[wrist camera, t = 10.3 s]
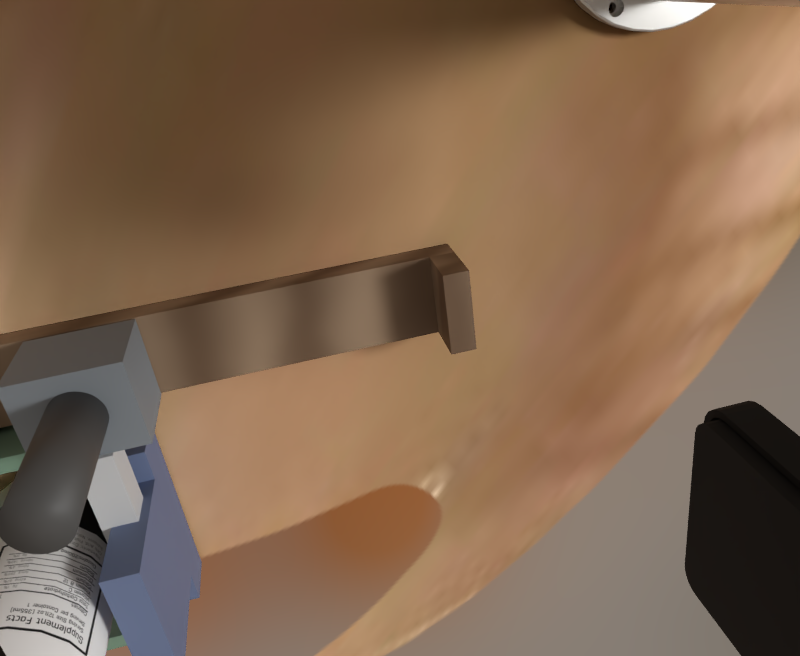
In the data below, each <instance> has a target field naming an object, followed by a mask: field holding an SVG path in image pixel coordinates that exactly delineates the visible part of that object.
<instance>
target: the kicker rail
mask: <svg viewBox="0 0 800 656" xmlns="http://www.w3.org/2000/svg"><path fill="white" fill-rule="evenodd" d="M132 319H136V322H137V325H138V328H139V331H140V334H141V337H142V340H143V343H144V345H145V348H146V351H147V354H148V357H149V360H150V363H151V366H152V369H153V371H154V374H155V377H156V380H157V383H158V386H159V389H160V392H161V393H162V392H166V391H171V390H175V389H180V388H185V387H189V386H194V385H198V384H203V383H207V382H212V381H216V380H221V379H226V378H230V377H235V376H239V375H244V374H248V373H253V372H258V371H262V370H267V369H271V368H276V367H280V366H285V365H290V364H294V363H299V362H303V361H308V360H312V359H317V358H322V357H326V356H331V355H335V354H340V353H344V352H349V351H353V350H358V349H363V348H367V347H372V346H376V345H381V344H385V343H390V342H395V341H399V340H404V339H408V338H413V337H417V336H422V335H427V334H431V333H436V332H439V334H440V335H441V337H442V339H443V340H444V342H445V344H446V346H447V347H448V349H449V351H450V352H451V354H456V353H460V352H465V351H469V350H474V349H476V340H475V329H474V318H473V308H472V297H471V286H470V276H469V270H468V269H467V267H466V266H465V265H464V264H463V262H462V261H461V260H460V259H459V258H458V256H457V255H456V254H455V253H454V251H453V250H452V249H451V248H450V246H449V245H448V244H444V245H439V246H434V247H429V248H424V249H419V250H414V251H409V252H405V253H400V254H395V255H390V256H385V257H380V258H375V259H370V260H365V261H360V262H355V263H350V264H345V265H341V266H336V267H331V268H326V269H321V270H316V271H311V272H306V273H301V274H296V275H291V276H286V277H282V278H277V279H272V280H267V281H262V282H257V283H252V284H247V285H242V286H237V287H232V288H227V289H222V290H218V291H213V292H208V293H203V294H198V295H193V296H188V297H183V298H178V299H173V300H168V301H163V302H158V303H154V304H149V305H144V306H139V307H134V308H129V309H124V310H119V311H114V312H109V313H104V314H99V315H95V316H90V317H85V318H80V319H75V320H70V321H65V322H60V323H55V324H50V325H45V326H40V327H35V328H31V329H26V330H21V331H16V332H11V333H6V334H1V335H0V380H1V378H2V376H3V375H4V373H5V371H6V370H7V368H8V366H9V365H10V363H11V361H12V360H13V358H14V356H15V354H16V353H17V351H18V349H19V348H20V346H21V344H22V343H23V342H25V341H30V340H35V339H40V338H45V337H50V336H54V335H59V334H64V333H69V332H74V331H79V330H84V329H89V328H93V327H98V326H103V325H108V324H113V323H118V322H123V321H128V320H132ZM11 425H12V423H11V421H10V419H9V417H8V415H7V413H6V411H5V408H4V406H3V404H2V402H1V400H0V428H2V427H6V426H11Z"/></svg>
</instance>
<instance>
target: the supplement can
mask: <svg viewBox="0 0 800 656" xmlns="http://www.w3.org/2000/svg"><path fill="white" fill-rule="evenodd" d="M12 483H13V482H11V483H10V484H9V485H8V486H7V487H5V488H4V489H3V490H2V491H1V492H0V510H1V507H2V505H3V503H4V501H5V498H6V496H7V494H8V492H9V490H10V487H11V485H12ZM106 547H107V541H106V539H105V537H104V534H103V532H102V530H101V528H100V525H99V523H98V521H97V519H96V516H95V514H94V512H93V509H92V507H91V505H90V503H89V500H88V498H87V500H86V503H85V507H84V510H83V513H82V517H81V520H80V524H79V527H78V531H77V534H76V536H75V538H74V539H73V540H72V542H71V543H69V544H68V545H67V546H66V547H64V548H62V549H61V550H58V551H56V552H52V553H48V554H29V553H24V552H20V551H18V550H15V549H14V548H12V547H10V546H9V545H7V544H6V543H5V542H4V541H3V540H2V539H1V537H0V646H1V648H2V649H3V651H4V653H5V654H6V656H106V651H107V646H108V641H109V636H110V631H111V626H112V620H113V614H112V612H111V609H110V607H109V605H108V603H107V601H106V599H105V596H104V594H103V592H102V590H101V588H100V586H99V584H98V582H99V578H100V574H101V569H102V565H103V560H104V556H105V552H106Z"/></svg>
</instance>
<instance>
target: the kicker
mask: <svg viewBox="0 0 800 656" xmlns="http://www.w3.org/2000/svg"><path fill="white" fill-rule="evenodd" d="M160 399H161V392H160V389H159V386H158V383H157V380H156V377H155V374H154V371H153V369H152V366H151V363H150V360H149V357H148V354H147V351H146V348H145V345H144V343H143V340H142V337H141V334H140V331H139V328H138V325H137V322H136V319H132V320H128V321H123V322H118V323H113V324H108V325H103V326H98V327H93V328H89V329H84V330H79V331H74V332H69V333H64V334H59V335H54V336H50V337H45V338H40V339H35V340H30V341H25V342H23V343H22V344H21V346H20V348H19V349H18V351H17V353H16V354H15V356H14V358H13V360H12V361H11V363H10V365H9V366H8V368H7V370H6V371H5V373H4V375H3V376H2V378H1V380H0V400H1V402H2V404H3V406H4V408H5V411H6V413H7V415H8V417H9V419H10V421H11V423H12V425H13V427H14V430H15V432H16V434H17V436H18V438H19V440H20V442H21V444H22V446H23V448H24V451H25V453H26V454H25V456H24V458H23V460H22V463H21V465H20V467H19V469H18V472H17V474H16V476H15V478H14V481H13V483H12V485H11V487H10V490H9V492H8V494H7V496H6V498H5V501H4V503H3V505H2V507H1V510H0V537H1V539H2V540H3V541H4V542H5V543H6V544H7V545H9V546H10V547H12V548H14V549H15V550H18V551H20V552H24V553H29V554H48V553H52V552H56V551H58V550H61V549H62V548H64V547H66V546H67V545H68V544H69V543H71V542H72V540H73V539H74V538H75V536H76V534H77V531H78V527H79V524H80V520H81V517H82V513H83V510H84V507H85V503H86V500H87V498H88V500H89V503H90V505H91V507H92V509H93V512H94V514H95V516H96V519H97V521H98V523H99V525H100V528H101V530H102V532H103V534H104V537H105V539H106V541H107V547H106V552H105V556H104V560H103V565H102V569H101V574H100V578H99V582H98V584H99V586H100V588H101V590H102V592H103V594H104V596H105V599H106V601H107V603H108V605H109V607H110V609H111V612H112V614H113V616H114V618H115V620H116V622H117V624H118V627H119V629H120V631H121V633H122V635H123V637H124V639H125V642H126V644H127V646H128V648H129V650H130V652H131V654H132V656H185V651H186V638H187V625H188V612H189V600H191V599H196V598H199V595H200V579H201V559H200V557H199V554H198V551H197V548H196V546H195V543H194V540H193V537H192V535H191V532H190V529H189V526H188V524H187V521H186V518H185V515H184V512H183V510H182V507H181V504H180V501H179V499H178V496H177V493H176V490H175V488H174V485H173V482H172V479H171V477H170V474H169V471H168V468H167V466H166V463H165V460H164V457H163V455H162V452H161V449H160V446H159V444H158V441H157V438H156V435H155V427H156V421H157V416H158V410H159V405H160Z"/></svg>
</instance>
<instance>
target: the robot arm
mask: <svg viewBox="0 0 800 656" xmlns="http://www.w3.org/2000/svg"><path fill="white" fill-rule="evenodd" d="M574 1H575V2H576V3H577V4H578V5H579V6H580V8H582V9H583V10H584V11H586V12H587V13H588V14H590V15H591V16H592V17H594V18H595V19H597V20H598V21H601V22H603V23H605V24H608V25H610V26H612V27H615V28H620V29H625V30H630V31H645V32H654V31H660V30H666V29H671V28H674V27H677V26H679V25H682V24H684V23H687V22H690V21H692V20H694V19H695V18H697V17H698V16H700V15H702V14H703V13H705V12H706V11H708V10H710V9H711V8H712V7H713V6H715V5H716V4H717V3H718V4H741V5H764V6H788V7H800V0H574ZM610 3H611V4H612V10H611V11H610V12H609V5H610ZM688 519H689V520H688V531H687V545H686V557H685V571H686V576H687V579H688V582H689V584H690V586H691V588H692V590H693V591H694V593H695V594H696V596H697V597H698V599H699V600H700V601H701V603H702V604H703V605H704V607H705V608H706V609H707V610H708V612H709V613H710V615H711V616H712V617H713V618H714V620H715V621H716V622H717V624H718V625H719V627H720V628H721V629H722V631H723V632H724V633H725V635H726V636H727V637H728V638H729V640H730V641H731V643H732V644H733V645H734V647H735V648H736V649H737V651H738V652H739V653H740V655H741V656H800V436H798V435H797V434H796V433H795V432H793V431H792V430H791V429H790V428H788V427H787V426H786V425H785V424H783V423H782V422H781V421H780V420H779V419H777V418H776V417H775V416H773V415H772V414H771V413H770V412H769V411H767V410H766V409H765V408H764V407H762V406H761V405H759V404H758V403H756V402H753V401H746V402H742V403H738V404H734V405H731V406H726V407H722V408H718V409H714V410H711V411H709V412H708V413H707V415H706V416H705V420H704V423H702V424H700V425H698V427H697V428H696V432H695V441H694V454H693V467H692V481H691V493H690V506H689V518H688ZM0 656H6V654H5V653H4V651H3V649H2V648H1V646H0Z"/></svg>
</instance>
